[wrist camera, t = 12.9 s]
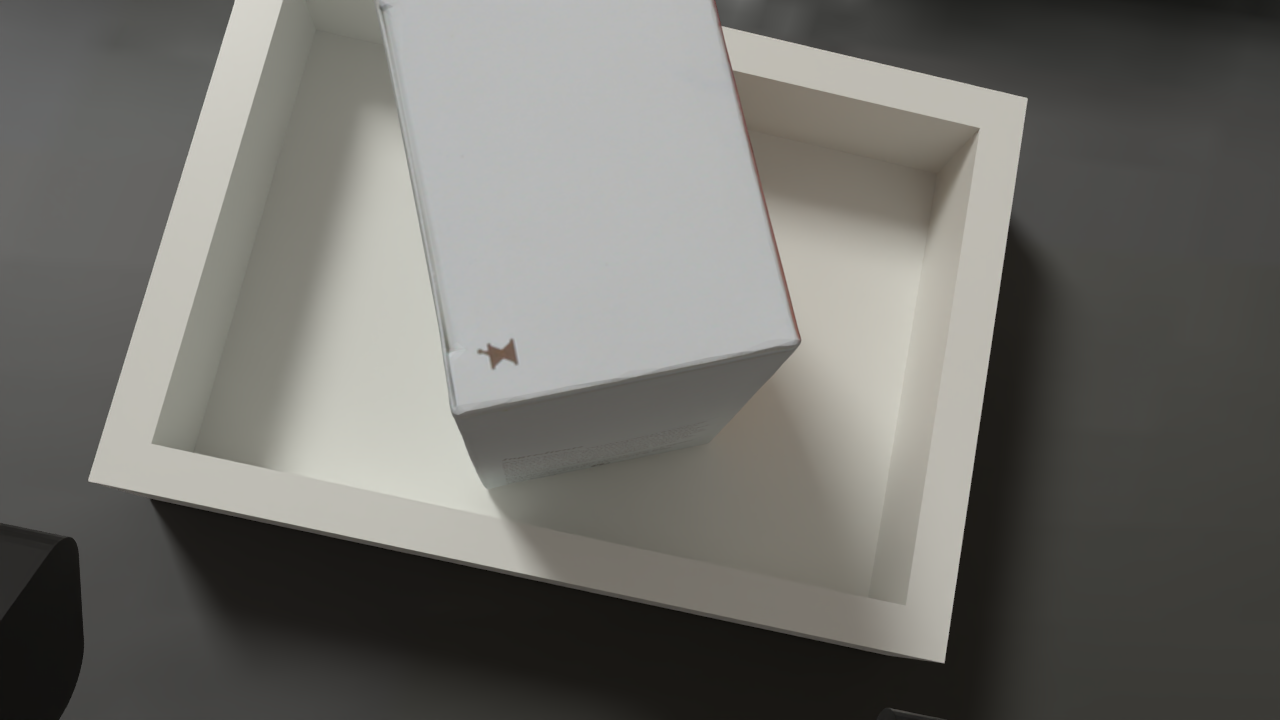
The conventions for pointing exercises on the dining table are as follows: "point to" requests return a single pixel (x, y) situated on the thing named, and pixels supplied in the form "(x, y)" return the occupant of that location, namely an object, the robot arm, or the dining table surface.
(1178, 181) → the dining table surface
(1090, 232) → the dining table surface
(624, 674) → the dining table surface
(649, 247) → the small box
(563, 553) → the tray
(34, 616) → the robot arm
